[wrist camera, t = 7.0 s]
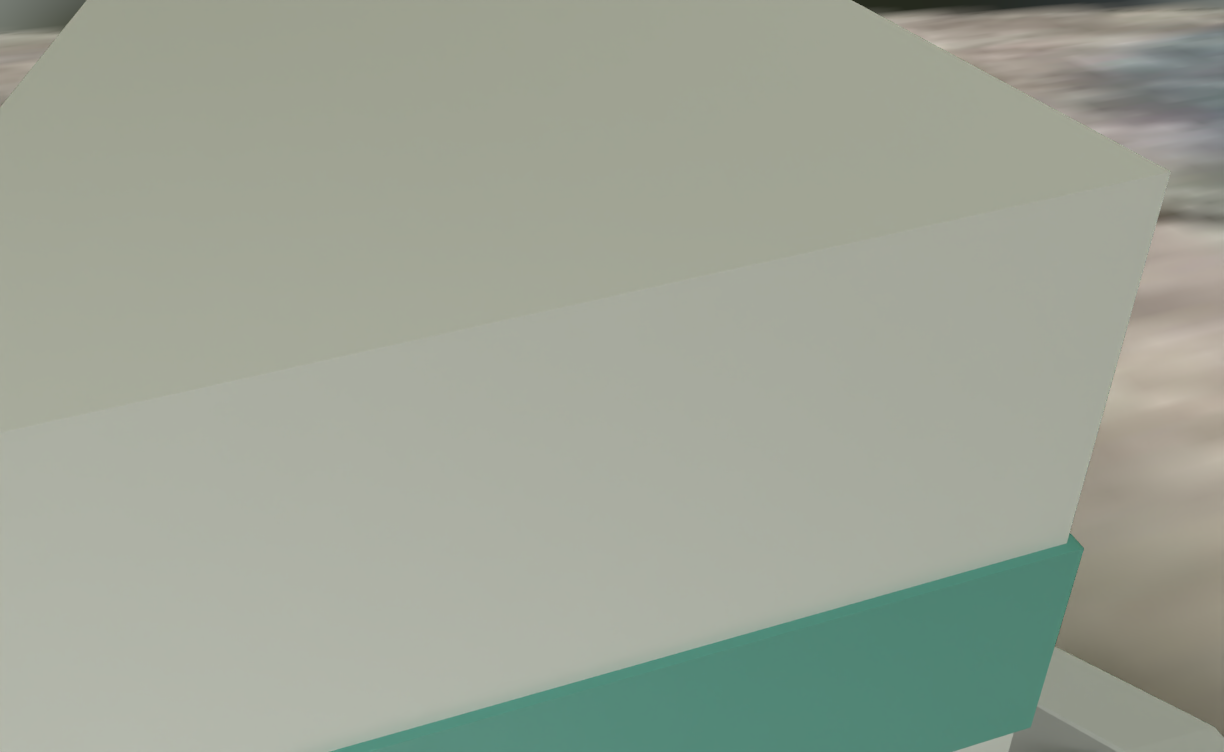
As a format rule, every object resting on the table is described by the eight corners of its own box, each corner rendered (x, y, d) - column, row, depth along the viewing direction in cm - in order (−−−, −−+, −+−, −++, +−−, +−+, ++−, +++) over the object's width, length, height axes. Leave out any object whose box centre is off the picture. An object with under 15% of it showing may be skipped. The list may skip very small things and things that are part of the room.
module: (881, 1228, 11) (1193, 175, 3) (516, 1371, 11) (-350, 522, 2) (705, 754, 17) (643, -116, 8) (451, 831, 16) (105, -30, 8)
